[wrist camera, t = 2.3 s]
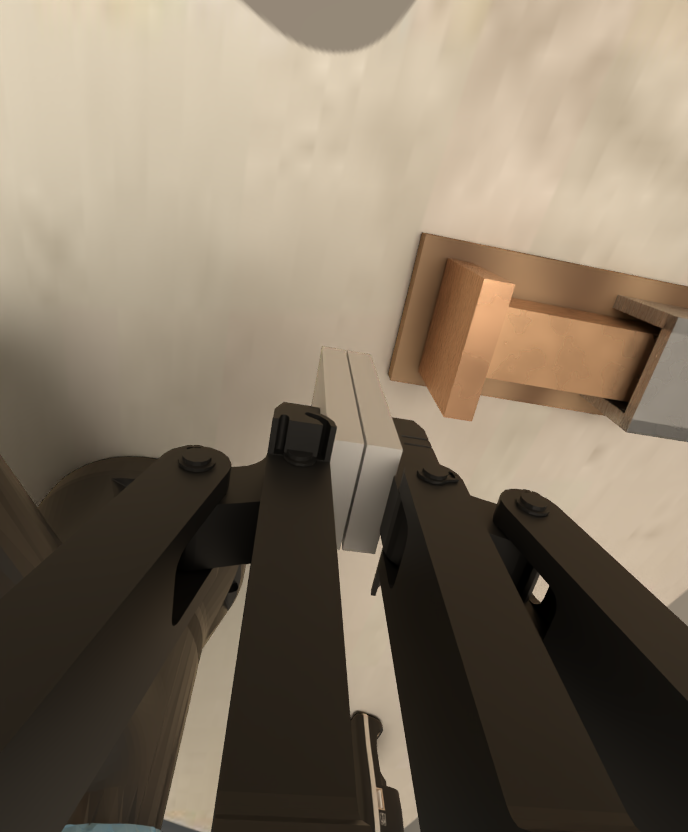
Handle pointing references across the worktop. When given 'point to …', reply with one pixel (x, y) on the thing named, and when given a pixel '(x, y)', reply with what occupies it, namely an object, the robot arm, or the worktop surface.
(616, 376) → the wood grain post
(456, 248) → the board
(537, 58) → the worktop surface
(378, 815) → the battery charger
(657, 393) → the grey concrete cube
